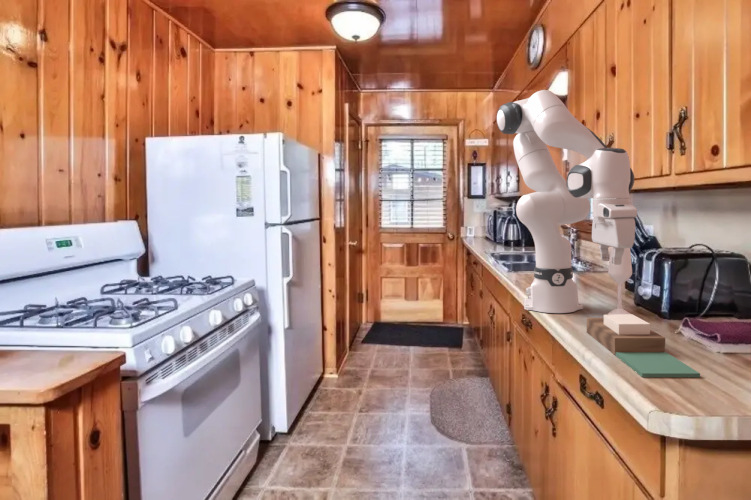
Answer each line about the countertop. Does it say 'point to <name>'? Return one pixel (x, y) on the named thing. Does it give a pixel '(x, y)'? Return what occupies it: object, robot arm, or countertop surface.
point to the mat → (656, 364)
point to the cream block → (626, 324)
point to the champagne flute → (620, 276)
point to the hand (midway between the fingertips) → (610, 262)
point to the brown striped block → (624, 339)
